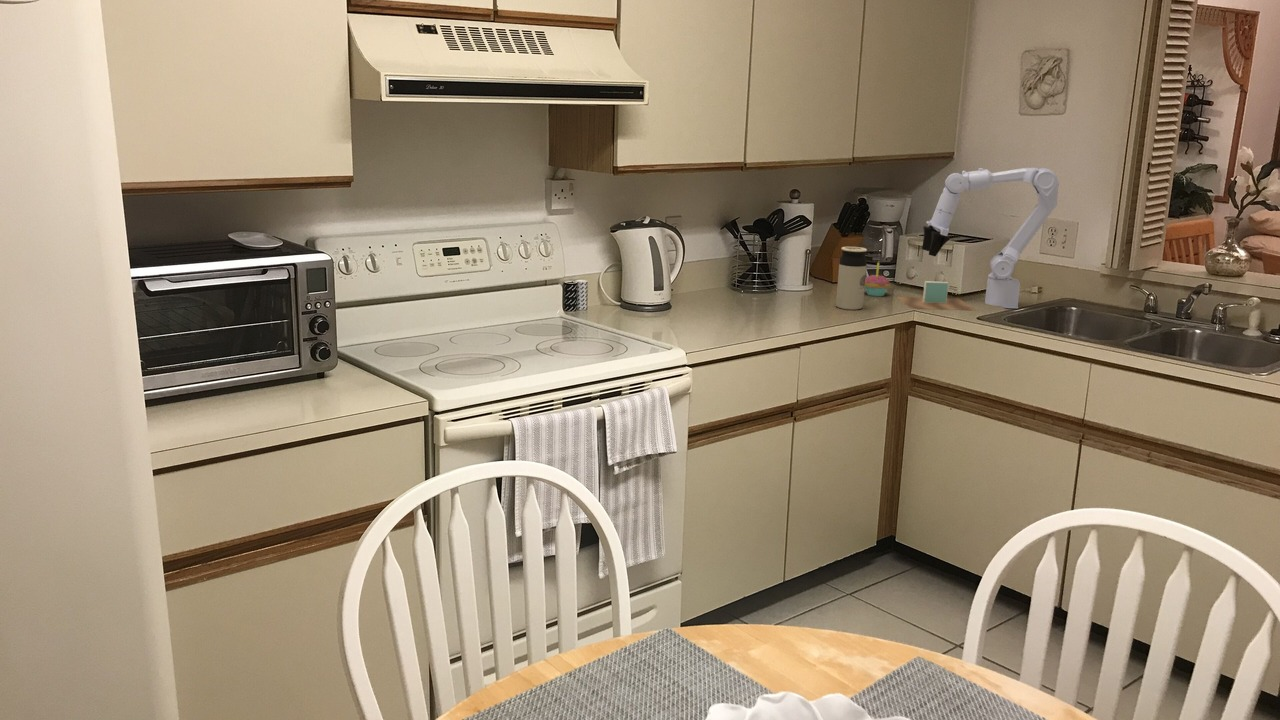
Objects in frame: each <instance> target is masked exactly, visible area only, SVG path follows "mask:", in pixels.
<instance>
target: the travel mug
mask: <svg viewBox="0 0 1280 720" xmlns="http://www.w3.org/2000/svg"><path fill="white" fill-rule="evenodd" d="M841 250H842V253H841V256H840V257H839V263H838V264H839V265H838V273H837V274H838V275H837V287H836V298H835V299H836V300H835V306H836V307H837V308H839V309H841V310H847V311H848V310H849V311H850V310H851V311H856V310H861V309H862V308H864V298H865V297H864V296H865V288H866V287H865V278H866V274H867V273H866V272H867V263H868V260H867V257H866V253H867V252H868V249H867V248H865V247H861V246H842V247H841Z"/></svg>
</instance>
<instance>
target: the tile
mask: <svg viewBox="0 0 1280 720" xmlns="http://www.w3.org/2000/svg"><path fill="white" fill-rule="evenodd" d="M948 290H949V282H948V281H932V280H930V281H929V280H924V285H923V293H922V294H923V295H922V298H923V302H924V303H946V302H947V298H948Z"/></svg>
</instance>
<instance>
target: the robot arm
mask: <svg viewBox="0 0 1280 720" xmlns="http://www.w3.org/2000/svg"><path fill="white" fill-rule="evenodd" d="M1008 182H1009V183H1010V182H1024V183H1026V184H1029V185H1032V186H1033V188H1034V190H1035V191H1036V195H1037V199H1038V200H1037V204H1036V205H1035V206H1034V208H1033V209H1032V210H1031V212H1030V213H1029V214H1028V216H1027V217H1026V218H1025V220H1024V221H1023V223H1022V224H1021V225H1020V227H1019V228H1018V230H1017V231H1015V234H1013V236H1012V237H1011V239H1010V240H1009V242H1008V243H1007V244H1006V245H1005V246H1004V247H1003V248H1002V249H1001V250H1000V252H998V253H997V254H995V255H993V257H992V258H991V259H990V261H989V268H990V271H991V272H990V273H989V274H988V275H987V282H986V290H985V296H984V298H985V299H984V303H985V304H986V305H990V306H997V307H1002V308H1004V309H1019V299H1020V293H1021V292H1020V291H1021V283H1020V280H1019V278H1013V276H1012V274H1013V273H1014V270H1015V265H1016V264H1017V263H1018V260H1019V259H1020V256H1021V254H1022V253H1023V252H1024V250H1025V248H1026V247H1027V246H1028V245H1029V244H1030V242H1031V240H1032V239H1033V238H1034V237H1035V235H1036V234H1037V232H1038V231H1039V230H1040V228H1041V227H1042V226H1043V225H1044V223H1045V221H1046V220H1047V219H1048V217H1049V216H1050V215H1051V214H1052V212H1053V211H1054V210H1055V208H1056V206H1057V205H1058V197H1059V196H1058V195H1059V192H1058V191H1059V185H1060V183H1059V181H1058V176H1057V175H1056V173H1055V172H1054V171H1053V170H1052V169H1049V168H1047V167H1038V168H1037V167H1022V168H1015V169H1010V170H1009V169H1007V170H1001V171H997V172H991V171H990V170H989V169H987V168H986V169H984V168H983V167H979V168H978V170H972V171H966V170H962V172H961V173H959V172H954V173H950V174H949V175H948V176H947V178H946V179H945V181H944V185H945V186H944V188H943V189H942V193H941V194H940V197H939V199H938V202H937V203H936V207H935V209H934V212H933V215H932V217H931V219H929V220H926V224H927V226H925V225H924V226H923V239H922V246H921V249H922V250H923V251H926V252H928V255H929V256H931V257H936V256H937V255H938V253H939V252H940V250H941V249H942V248H943V246H944V245H945V244H946V243H947V242H949V240H951V238H950V237H949V236H948V235H949V232H950V225H951V222H952V220H953V217H954V215H955V212H956V210H957V207H958V205H959V202H960V197H961V195H962V193H963V192H964V191H965V190H966V191H967V192H971V191H977V190H986V189H989V188H990V187H991V186H992V185H993V184H999V183H1000V184H1001V183H1008Z"/></svg>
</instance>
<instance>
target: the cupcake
mask: <svg viewBox="0 0 1280 720" xmlns="http://www.w3.org/2000/svg"><path fill="white" fill-rule="evenodd" d="M875 271H876V272H875V273H876V274H871V275H867V277H866V276H865V287H864V288H865V290H866V294H867V295H868V296H872V297H883V296H885V294H886V291H887V290H888V288H889V287H891V281H890V280H889V279H888V278H887V277H886V276H883V275H880V274H879V273H880V261H879V260H878V262H877V263H876V270H875Z"/></svg>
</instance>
